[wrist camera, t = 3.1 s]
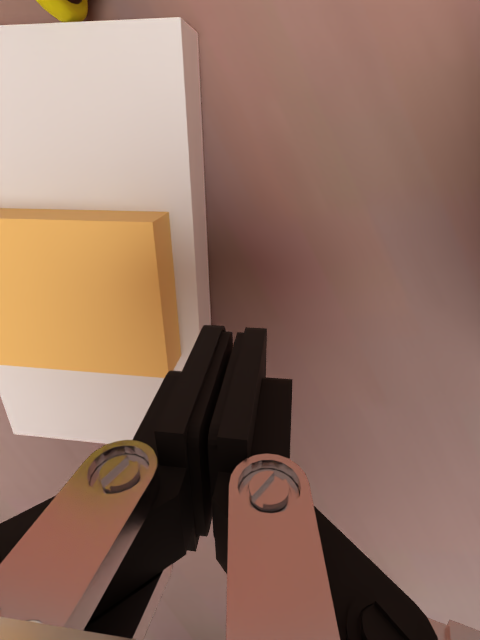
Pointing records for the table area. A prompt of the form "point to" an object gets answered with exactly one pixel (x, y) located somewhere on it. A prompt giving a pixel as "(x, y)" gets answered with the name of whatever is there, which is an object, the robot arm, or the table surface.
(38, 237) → the yellow orange rectangular block
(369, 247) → the table surface
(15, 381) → the white flat block
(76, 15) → the opera glasses
